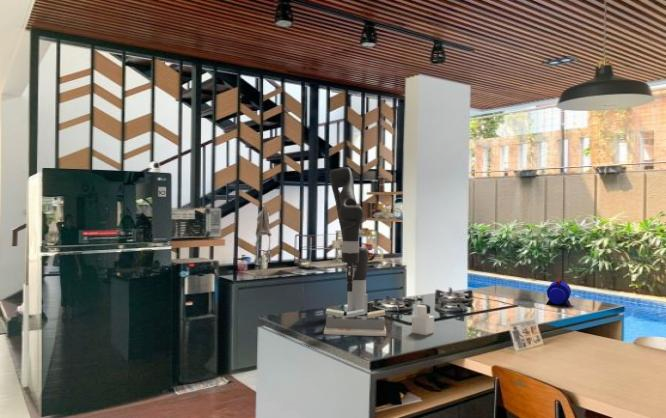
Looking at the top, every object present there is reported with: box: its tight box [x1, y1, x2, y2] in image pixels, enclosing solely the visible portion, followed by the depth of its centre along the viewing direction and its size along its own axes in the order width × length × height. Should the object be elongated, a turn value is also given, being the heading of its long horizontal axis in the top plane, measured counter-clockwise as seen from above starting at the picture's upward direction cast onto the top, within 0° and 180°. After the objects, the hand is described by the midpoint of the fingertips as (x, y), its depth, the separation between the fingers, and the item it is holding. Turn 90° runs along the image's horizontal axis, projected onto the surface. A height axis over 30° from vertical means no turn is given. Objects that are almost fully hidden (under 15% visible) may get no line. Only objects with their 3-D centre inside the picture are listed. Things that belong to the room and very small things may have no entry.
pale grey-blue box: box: [345, 309, 365, 318], centre depth 223 cm, size 8×5×2 cm, turn 87°
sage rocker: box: [325, 308, 345, 318], centre depth 223 cm, size 8×5×2 cm, turn 86°
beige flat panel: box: [366, 309, 386, 319], centre depth 222 cm, size 8×5×2 cm, turn 87°
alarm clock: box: [546, 277, 572, 308], centre depth 296 cm, size 12×12×15 cm
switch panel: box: [323, 314, 387, 337], centre depth 221 cm, size 26×13×6 cm, turn 86°
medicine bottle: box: [411, 303, 435, 336], centre depth 221 cm, size 7×7×12 cm
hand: (349, 291), depth 223 cm, fingers closed
